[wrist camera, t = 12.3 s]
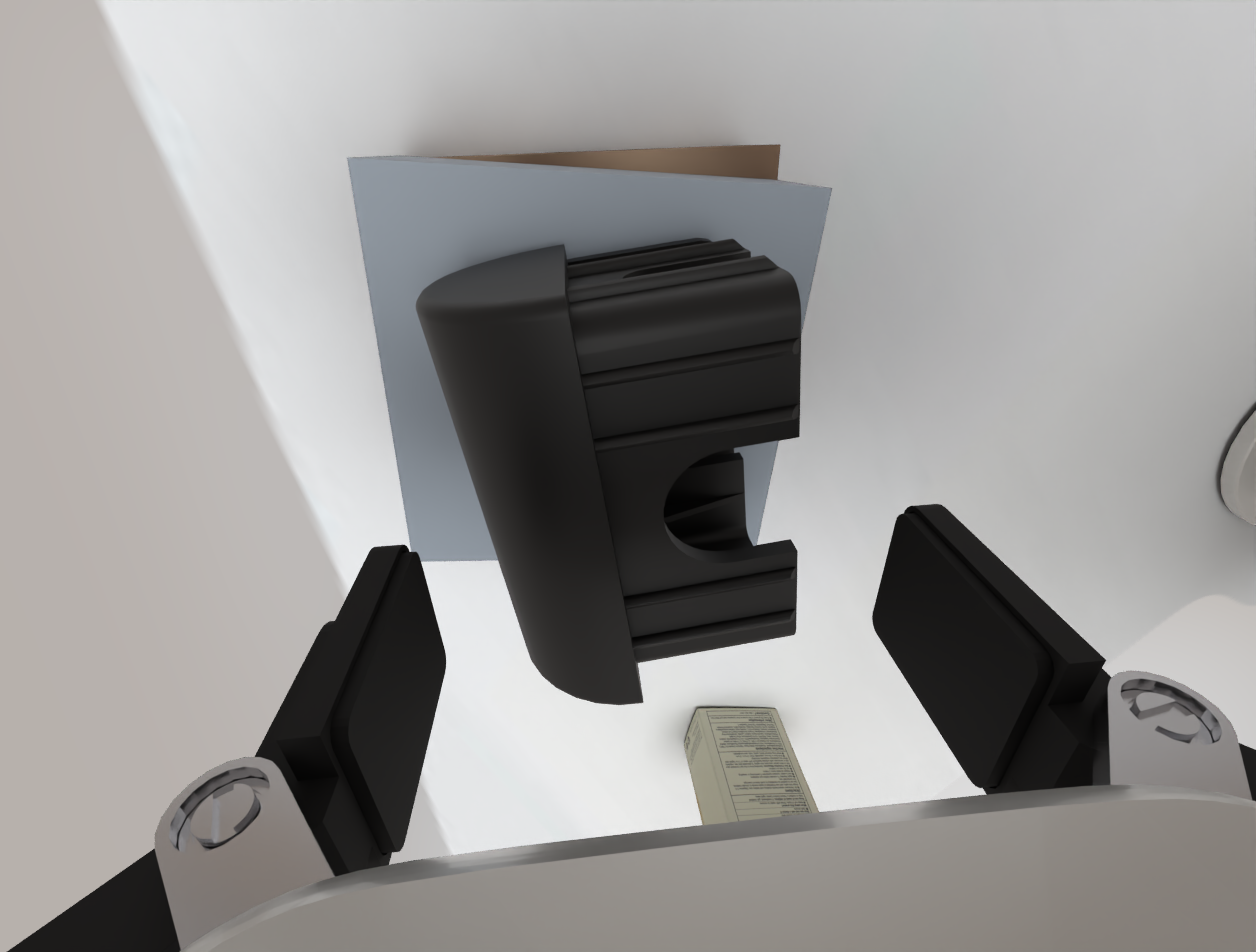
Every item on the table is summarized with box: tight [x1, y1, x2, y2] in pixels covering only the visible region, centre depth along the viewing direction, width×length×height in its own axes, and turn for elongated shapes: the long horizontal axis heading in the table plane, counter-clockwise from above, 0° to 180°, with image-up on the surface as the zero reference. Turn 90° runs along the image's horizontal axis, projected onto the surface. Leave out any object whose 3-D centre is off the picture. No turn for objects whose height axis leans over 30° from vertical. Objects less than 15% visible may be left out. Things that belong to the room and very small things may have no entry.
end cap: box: [416, 238, 801, 705], centre depth 14 cm, size 10×7×7 cm
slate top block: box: [347, 156, 832, 561], centre depth 19 cm, size 12×12×5 cm
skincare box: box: [684, 708, 819, 825], centre depth 36 cm, size 6×4×12 cm
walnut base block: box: [430, 145, 780, 180], centre depth 24 cm, size 13×13×5 cm
